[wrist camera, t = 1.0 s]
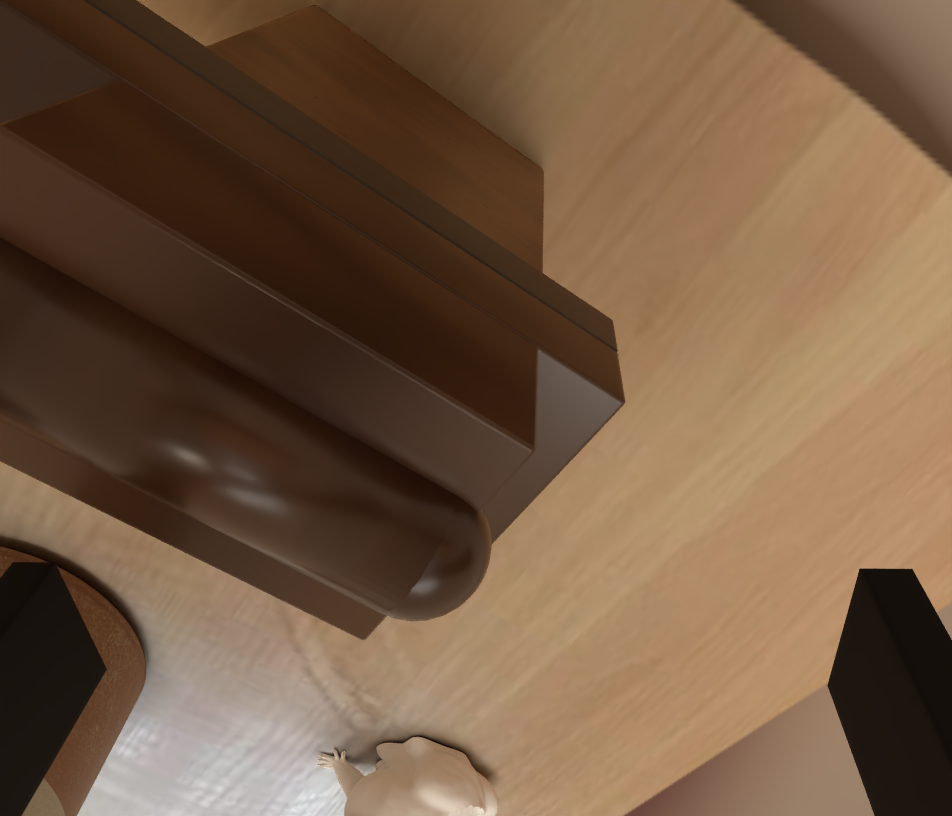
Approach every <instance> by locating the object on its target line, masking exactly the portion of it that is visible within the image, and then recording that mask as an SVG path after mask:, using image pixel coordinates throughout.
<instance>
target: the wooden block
mask: <svg viewBox="0 0 952 816" xmlns="http://www.w3.org/2000/svg"><path fill="white" fill-rule="evenodd" d="M206 48H208V49H209V50H211V51H212V52H214V53H215V54H217V55H218V56H220V57H221V58H223V59H224V60H226V61H227V62H229V63H230V64H232V65H233V66H235V67H236V68H238V69H239V70H241V71H242V72H244V73H245V74H247V75H248V76H250V77H251V78H253V79H254V80H256V81H257V82H259V83H260V84H262V85H263V86H265V87H266V88H267V89H269V90H270V91H272V92H273V93H275V94H276V95H278V96H279V97H281V98H282V99H284V100H285V101H287V102H288V103H290V104H291V105H293V106H294V107H296V108H297V109H299V110H300V111H302V112H303V113H305V114H306V115H308V116H309V117H311V118H312V119H314V120H315V121H317V122H318V123H320V124H321V125H323V126H324V127H326V128H327V129H329V130H330V131H332V132H333V133H334V134H336V135H337V136H339V137H340V138H342V139H343V140H345V141H346V142H348V143H349V144H351V145H352V146H354V147H355V148H357V149H358V150H360V151H361V152H363V153H364V154H366V155H367V156H369V157H370V158H372V159H373V160H375V161H376V162H378V163H379V164H381V165H382V166H384V167H385V168H387V169H388V170H390V171H391V172H393V173H394V174H396V175H397V176H399V177H400V178H402V179H403V180H404V181H406V182H407V183H409V184H410V185H412V186H413V187H415V188H416V189H418V190H419V191H421V192H422V193H424V194H425V195H427V196H428V197H430V198H431V199H433V200H434V201H436V202H437V203H439V204H440V205H442V206H443V207H445V208H446V209H448V210H449V211H451V212H452V213H454V214H455V215H457V216H458V217H460V218H461V219H463V220H464V221H466V222H467V223H469V224H470V225H471V226H473V227H474V228H476V229H477V230H479V231H480V232H482V233H483V234H485V235H486V236H488V237H489V238H491V239H492V240H494V241H495V242H497V243H498V244H500V245H501V246H503V247H504V248H506V249H507V250H509V251H510V252H512V253H513V254H515V255H516V256H518V257H519V258H521V259H522V260H524V261H525V262H527V263H528V264H530V265H531V266H533V267H534V268H536V269H537V270H539V271H540V272H541V273H543V202H544V171H543V170H542V169H541V168H540V167H538V166H537V165H535V164H534V163H533V162H531V161H530V160H529V159H527V158H526V157H524V156H523V155H522V154H520V153H519V152H518V151H516V150H515V149H513V148H512V147H511V146H509V145H508V144H507V143H505V142H504V141H502V140H501V139H500V138H498V137H497V136H496V135H494V134H493V133H491V132H490V131H489V130H487V129H486V128H484V127H483V126H482V125H480V124H479V123H478V122H476V121H475V120H473V119H472V118H471V117H469V116H468V115H467V114H465V113H464V112H462V111H461V110H460V109H458V108H457V107H456V106H454V105H453V104H451V103H450V102H449V101H447V100H446V99H445V98H443V97H442V96H440V95H439V94H438V93H436V92H435V91H433V90H432V89H431V88H429V87H428V86H427V85H425V84H424V83H422V82H421V81H420V80H418V79H417V78H416V77H414V76H413V75H411V74H410V73H409V72H407V71H406V70H405V69H403V68H402V67H400V66H399V65H398V64H396V63H395V62H393V61H392V60H391V59H389V58H388V57H387V56H385V55H384V54H382V53H381V52H380V51H378V50H377V49H376V48H374V47H373V46H371V45H370V44H369V43H367V42H366V41H365V40H363V39H362V38H360V37H359V36H358V35H356V34H355V33H354V32H352V31H351V30H349V29H348V28H347V27H345V26H344V25H342V24H341V23H340V22H338V21H337V20H336V19H334V18H333V17H331V16H330V15H329V14H327V13H326V12H325V11H323V10H322V9H320V8H319V7H318V6H316V5H313V6H311V7H308V8H306V9H303V10H300V11H298V12H295V13H293V14H290V15H287V16H285V17H282V18H279V19H277V20H274V21H272V22H269V23H266V24H264V25H261V26H259V27H256V28H253V29H251V30H248V31H246V32H243V33H240V34H238V35H235V36H233V37H230V38H227V39H225V40H222V41H220V42H217V43H214V44H212V45H209V46H207V47H206Z"/></svg>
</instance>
